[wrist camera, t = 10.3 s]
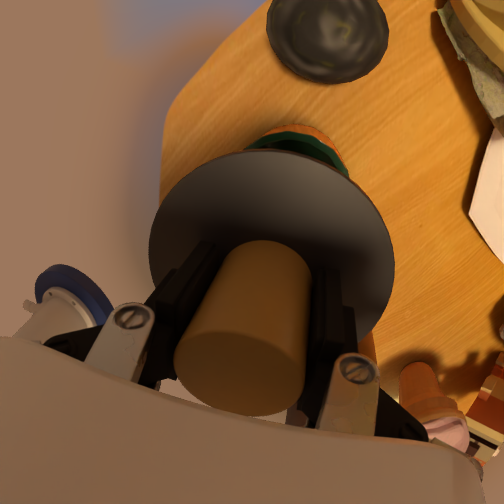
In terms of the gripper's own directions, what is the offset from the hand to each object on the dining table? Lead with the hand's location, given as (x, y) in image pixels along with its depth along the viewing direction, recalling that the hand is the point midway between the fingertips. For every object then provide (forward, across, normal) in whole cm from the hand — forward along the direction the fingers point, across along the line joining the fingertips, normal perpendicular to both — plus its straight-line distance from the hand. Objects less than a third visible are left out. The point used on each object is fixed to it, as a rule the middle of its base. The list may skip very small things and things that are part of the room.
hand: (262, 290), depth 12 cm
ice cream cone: (+22, -23, +24) cm, 40 cm away
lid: (+1, 0, 0) cm, 1 cm away
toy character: (+15, -36, +18) cm, 43 cm away
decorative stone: (+12, -1, -13) cm, 17 cm away
